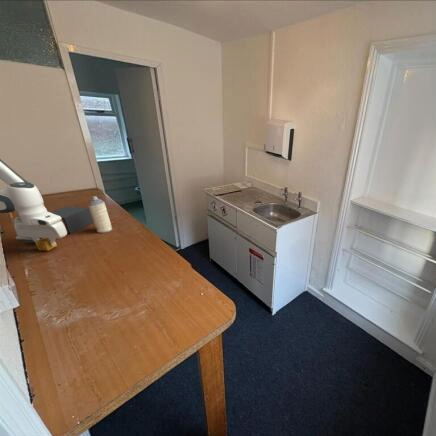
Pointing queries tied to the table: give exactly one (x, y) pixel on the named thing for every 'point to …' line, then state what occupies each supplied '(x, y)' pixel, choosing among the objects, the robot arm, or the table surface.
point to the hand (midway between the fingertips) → (46, 244)
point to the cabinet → (74, 217)
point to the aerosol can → (100, 215)
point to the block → (44, 244)
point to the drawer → (28, 239)
